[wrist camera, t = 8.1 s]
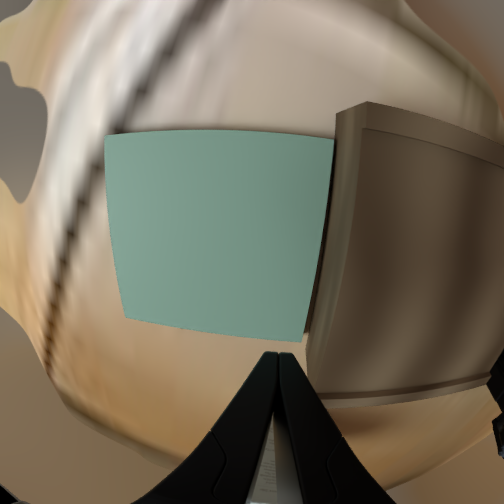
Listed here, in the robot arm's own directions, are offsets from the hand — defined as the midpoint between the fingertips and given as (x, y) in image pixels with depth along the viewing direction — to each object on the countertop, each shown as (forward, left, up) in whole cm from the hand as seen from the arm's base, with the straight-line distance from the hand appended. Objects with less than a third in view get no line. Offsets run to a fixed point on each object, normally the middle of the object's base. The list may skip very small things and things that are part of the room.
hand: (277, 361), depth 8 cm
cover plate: (+4, 0, -10) cm, 11 cm away
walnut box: (-10, 0, -9) cm, 14 cm away
